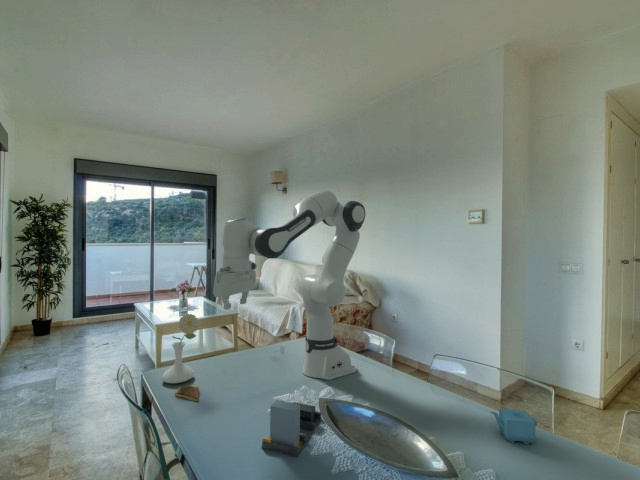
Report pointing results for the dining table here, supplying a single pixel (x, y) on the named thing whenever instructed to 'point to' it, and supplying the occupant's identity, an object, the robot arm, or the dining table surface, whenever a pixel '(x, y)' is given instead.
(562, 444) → the dining table surface
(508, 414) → the teapot
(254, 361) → the dining table surface
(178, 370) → the flower in vase
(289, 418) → the blue-grey rectangular block
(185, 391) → the shard
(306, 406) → the rack
